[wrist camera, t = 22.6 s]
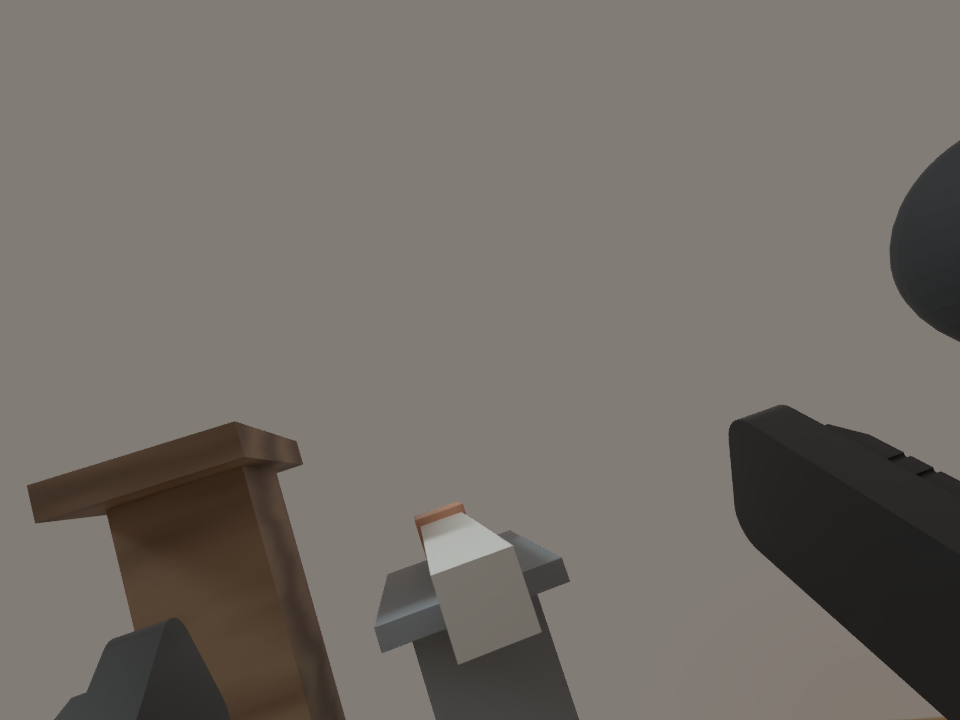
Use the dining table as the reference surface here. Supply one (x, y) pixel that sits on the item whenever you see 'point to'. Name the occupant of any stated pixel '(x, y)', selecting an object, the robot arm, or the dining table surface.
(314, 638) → the tall tower
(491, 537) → the white square bar
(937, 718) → the dining table surface
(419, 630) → the grey pedestal column
